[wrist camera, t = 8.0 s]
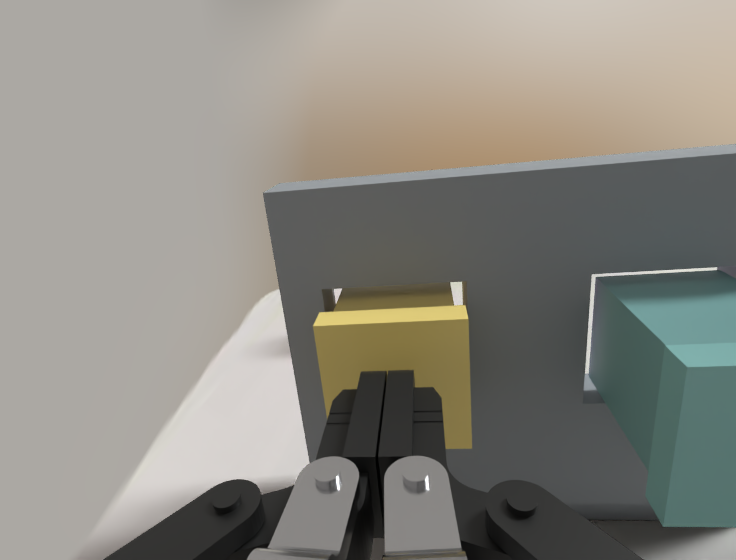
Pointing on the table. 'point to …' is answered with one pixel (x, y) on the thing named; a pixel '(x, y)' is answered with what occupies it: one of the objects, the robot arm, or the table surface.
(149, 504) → the table surface
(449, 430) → the mustard button
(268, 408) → the table surface
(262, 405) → the table surface
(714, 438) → the teal button
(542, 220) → the panel
